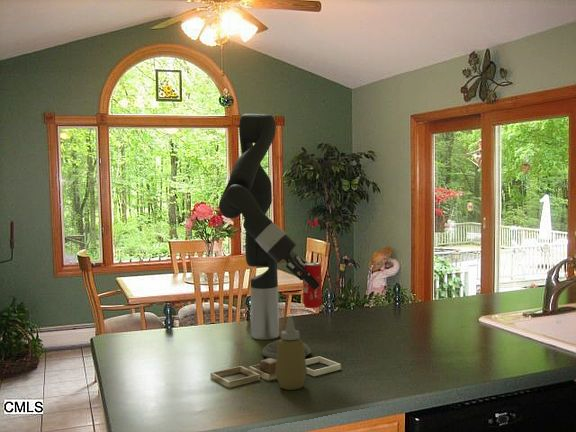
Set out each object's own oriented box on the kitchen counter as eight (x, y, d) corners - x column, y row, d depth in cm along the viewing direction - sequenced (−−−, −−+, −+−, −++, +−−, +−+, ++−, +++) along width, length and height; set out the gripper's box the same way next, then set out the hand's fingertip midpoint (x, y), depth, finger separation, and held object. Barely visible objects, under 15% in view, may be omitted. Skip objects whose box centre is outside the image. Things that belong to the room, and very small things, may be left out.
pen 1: (210, 378, 163) (210, 372, 163) (240, 371, 168) (240, 365, 168) (228, 387, 155) (228, 382, 155) (259, 379, 161) (259, 374, 161)
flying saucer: (286, 346, 193) (286, 329, 193) (321, 355, 183) (321, 337, 182) (251, 356, 183) (251, 338, 183) (286, 367, 172) (285, 348, 172)
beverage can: (320, 308, 165) (319, 265, 164) (301, 308, 166) (301, 265, 165) (323, 304, 170) (322, 262, 169) (305, 304, 171) (304, 262, 170)
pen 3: (292, 367, 170) (292, 362, 170) (319, 361, 176) (319, 356, 176) (313, 376, 163) (313, 371, 162) (340, 369, 168) (340, 363, 168)
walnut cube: (260, 375, 165) (259, 360, 165) (270, 371, 168) (270, 357, 167) (270, 378, 162) (270, 363, 162) (280, 374, 165) (280, 360, 165)
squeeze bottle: (274, 382, 159) (273, 314, 158) (305, 380, 160) (303, 313, 158) (276, 392, 151) (275, 322, 150) (308, 391, 152) (307, 320, 150)
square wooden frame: (249, 371, 168) (248, 366, 168) (277, 364, 173) (277, 359, 173) (268, 380, 160) (268, 375, 160) (297, 373, 166) (297, 367, 165)
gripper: (280, 235, 161) (325, 280, 160) (289, 230, 175) (330, 271, 174) (261, 255, 162) (306, 300, 161) (271, 248, 176) (312, 289, 175)
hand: (318, 285), depth 167 cm, fingers closed on beverage can, 5 cm apart
